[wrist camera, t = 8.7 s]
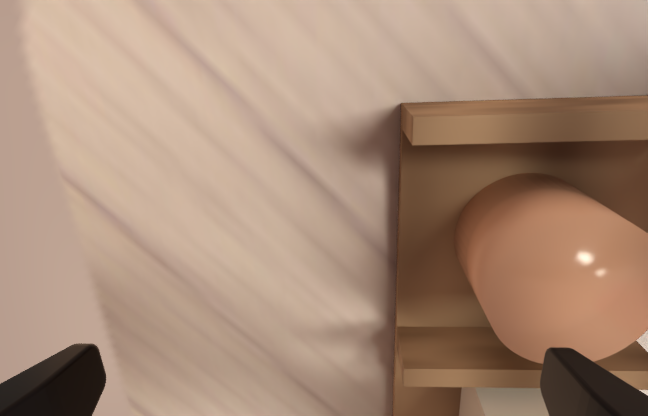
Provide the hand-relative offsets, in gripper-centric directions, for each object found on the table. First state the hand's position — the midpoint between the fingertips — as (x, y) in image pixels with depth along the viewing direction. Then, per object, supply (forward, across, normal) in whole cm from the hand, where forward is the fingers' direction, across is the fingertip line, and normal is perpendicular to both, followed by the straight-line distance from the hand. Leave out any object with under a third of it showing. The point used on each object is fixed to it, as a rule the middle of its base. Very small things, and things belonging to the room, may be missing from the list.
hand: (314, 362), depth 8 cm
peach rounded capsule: (+11, -8, +2) cm, 14 cm away
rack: (+12, -8, +8) cm, 17 cm away
